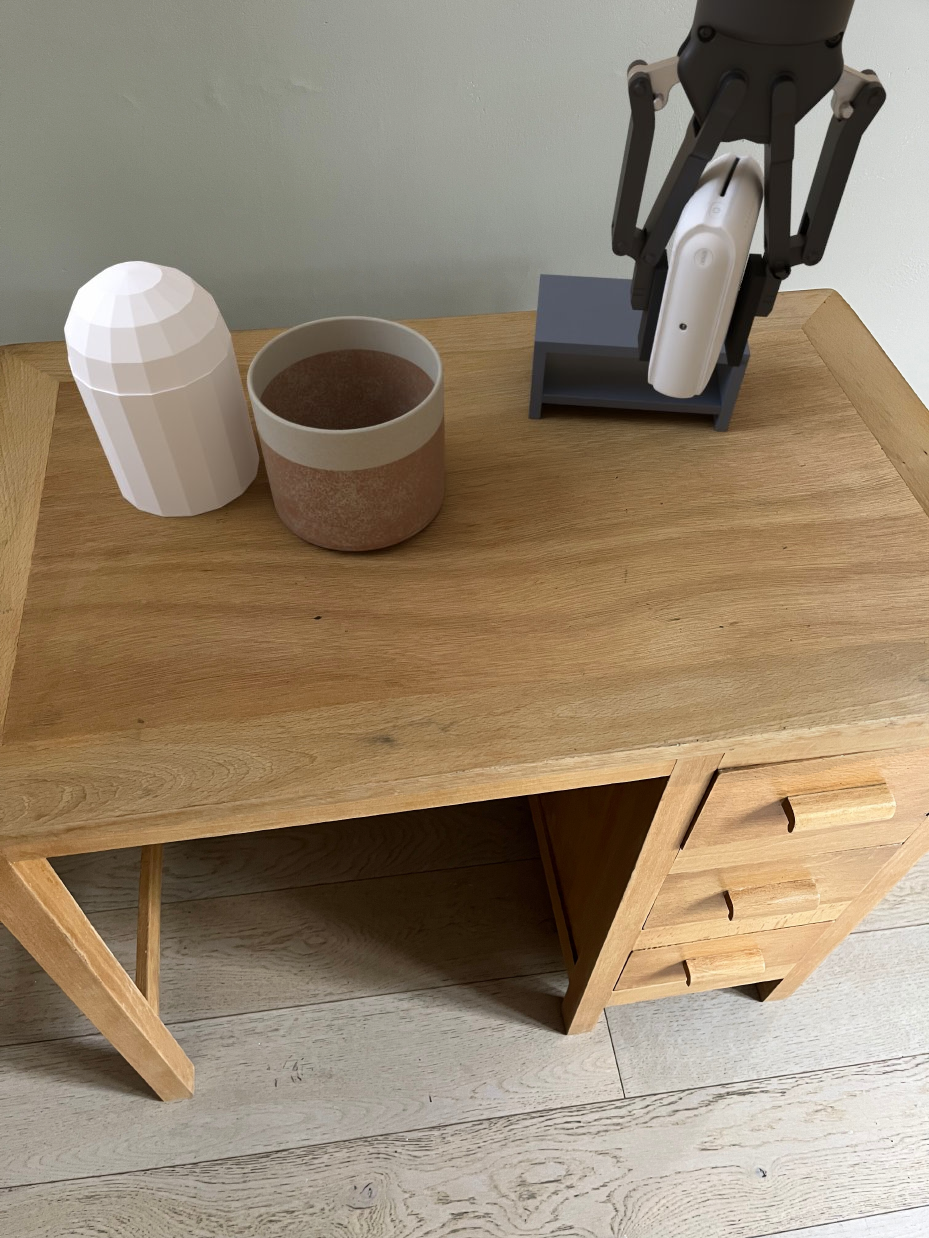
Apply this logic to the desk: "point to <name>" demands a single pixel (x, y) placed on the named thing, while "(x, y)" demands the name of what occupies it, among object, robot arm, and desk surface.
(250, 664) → the desk surface
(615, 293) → the shelf
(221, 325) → the container
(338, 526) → the planter
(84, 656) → the desk surface
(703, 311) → the photo printer
